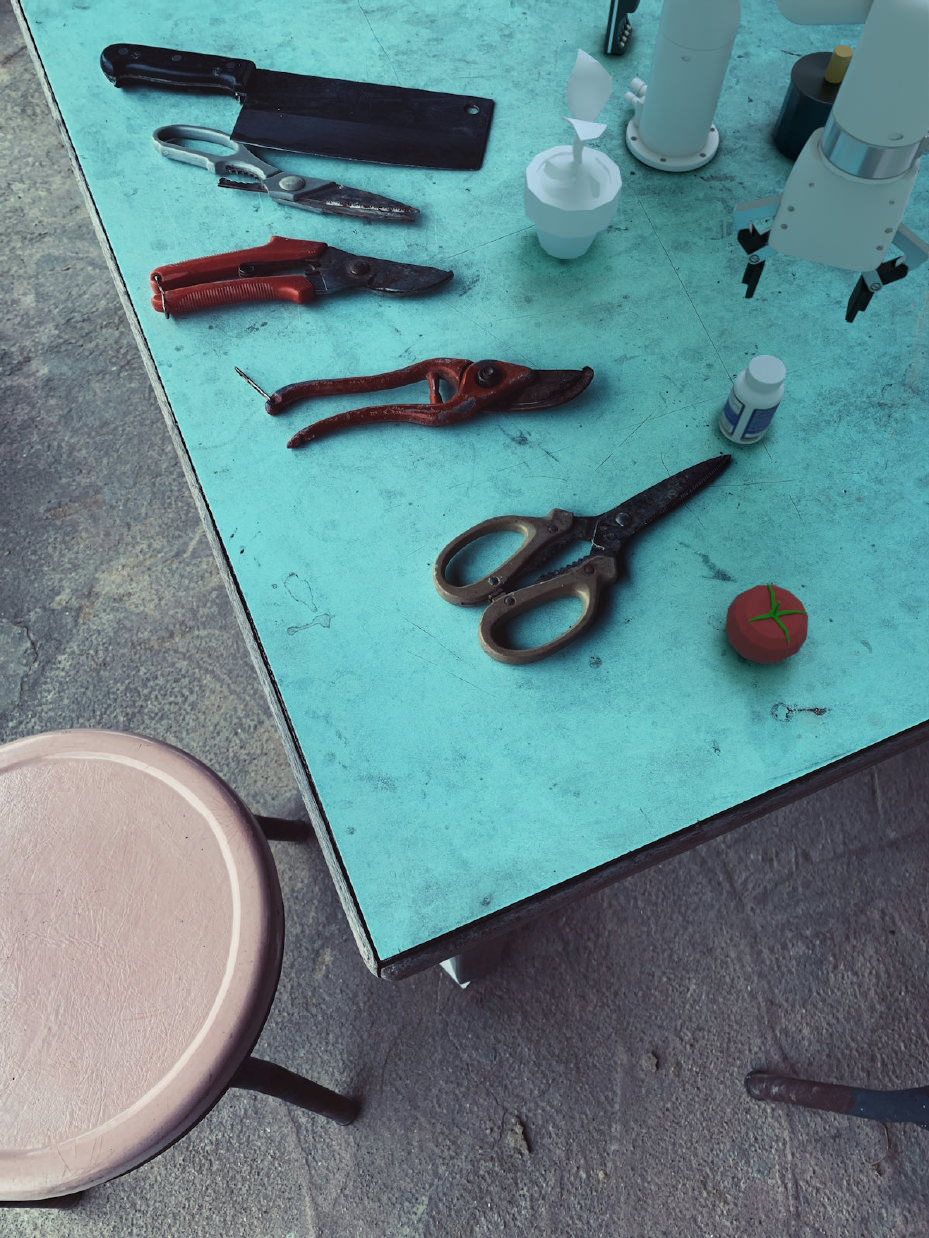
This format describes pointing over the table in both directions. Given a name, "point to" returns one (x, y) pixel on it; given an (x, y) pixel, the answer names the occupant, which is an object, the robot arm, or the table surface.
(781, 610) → the tomato
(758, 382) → the pill bottle
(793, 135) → the pot
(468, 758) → the table surface
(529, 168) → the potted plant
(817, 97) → the pot lid
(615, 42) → the battery charger
